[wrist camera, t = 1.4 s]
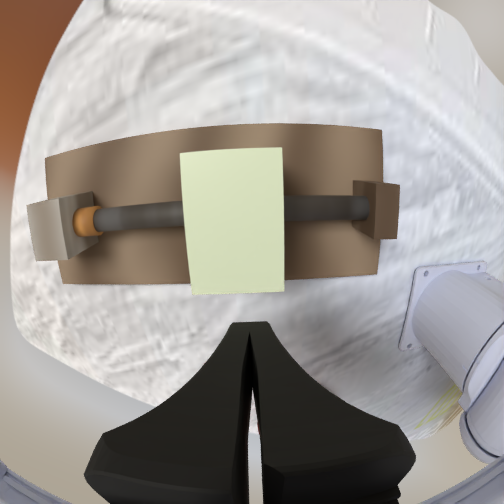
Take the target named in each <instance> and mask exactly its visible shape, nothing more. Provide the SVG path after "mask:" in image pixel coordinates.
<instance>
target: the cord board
mask: <svg viewBox="0 0 504 504" xmlns="http://www.w3.org/2000/svg"><path fill="white" fill-rule="evenodd" d="M276 147H282V159H283V195H284V280H295V279H313V278H330V277H345V276H360V275H373V274H377V270H378V260H379V250H380V239H397V231H398V216H399V195H400V185H397V184H390V183H384V182H383V145H382V130H378V129H370V128H360V127H350V126H337V125H320V124H284V123H275V124H238V125H221V126H208V127H198V128H188V129H179V130H171V131H164V132H157V133H151V134H144V135H139V136H133V137H127V138H122V139H117V140H112V141H108V142H103V143H99V144H94V145H90V146H86V147H82V148H78V149H75V150H71V151H67V152H64V153H60V154H57V155H53V156H50V157H47V158H45V170H46V185H47V196H48V200H45V201H41V202H37V203H33V204H29V205H27V213H28V220H29V227H30V233H31V239H32V244H33V249H34V254H35V259H36V261H52V260H58V264H59V269H60V273H61V277H62V281H63V284H187V283H191V281H190V273H189V264H188V255H187V246H186V236H185V225H184V213H183V200H182V186H181V169H180V153H186V152H197V151H209V150H223V149H241V148H276Z"/></svg>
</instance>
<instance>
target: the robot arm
mask: <svg viewBox="0 0 504 504" xmlns="http://www.w3.org/2000/svg"><path fill="white" fill-rule="evenodd" d="M486 270H487V263H486V262H485V261H477V262H468V263H457V264H447V265H436V266H425V267H418V268H417V269H416V271H415V274H414V280H413V286H412V291H411V297H410V302H409V306H408V311H407V315H406V320H405V324H404V328H403V332H402V336H401V340H400V344H399V349H400V350H401V351H405V350H410V349H414V348H419V347H423V346H425V348H426V349H427V350H428V351H429V352H430V353H431V355H432V356H433V357H434V358H435V359H436V361H437V362H438V363H439V364H440V365H441V367H442V368H443V369H444V370H445V372H446V373H447V374H448V375H449V376H450V378H451V379H452V380H453V382H454V383H455V384H456V385H457V387H458V388H459V389H460V390H461V392H462V393H463V394H462V396H461V398H460V399H459V400H458V403H459V404H460V406H461V407H462V408H463V410H464V412H463V413H462V415H461V417H460V422H459V426H460V432H461V437H462V440H463V442H464V445H465V446H466V448H467V449H468V451H469V452H470V453H471V454H472V455H473V456H474V457H475V458H476V459H478V460H480V461H481V462H484V463H487V464H489V465H487V466H486V467H484V468H483V469H481V470H480V471H478V472H477V473H476V474H474V475H472V476H470V477H469V478H467V479H466V480H464V481H462V482H460V483H459V484H457V485H455V486H453V487H451V488H450V489H448V490H446V491H444V492H442V493H440V494H438V495H436V496H434V497H432V498H430V499H428V500H425V501H423V502H421V503H419V504H504V283H503V282H501V281H500V280H498V279H496V278H495V277H493V276H491V275H489V274H488V273H486ZM425 271H426V273H425V275H424V272H425ZM408 344H409V345H408ZM252 388H253V393H254V400H255V407H256V414H257V420H258V427H259V433H260V442H261V463H262V485H263V504H399V502H398V500H397V499H398V498H399V497H400V496H401V493H400V490H399V488H398V484H399V483H400V481H401V480H402V479H403V478H404V477H405V476H406V474H407V473H408V472H409V471H410V470H411V468H412V466H413V465H414V463H415V461H416V455H415V453H414V451H413V448H412V446H411V444H410V443H409V441H408V439H407V437H406V436H405V434H404V433H403V432H402V430H401V429H400V427H399V426H398V425H396V424H394V423H391V422H388V421H385V420H383V419H380V418H378V417H375V416H373V415H370V414H368V413H366V412H364V411H362V410H360V409H358V408H356V407H354V406H352V405H350V404H348V403H346V402H345V401H343V400H342V399H340V398H339V397H337V396H335V395H334V394H332V393H331V392H329V391H328V390H327V389H325V388H324V387H323V386H321V385H320V384H319V383H318V382H317V381H315V380H314V379H313V378H312V377H311V376H310V375H309V374H307V373H306V372H305V371H304V370H303V369H302V368H301V367H300V365H299V364H298V363H297V362H296V361H295V360H294V359H293V358H292V357H291V355H290V354H289V353H288V352H287V350H286V349H285V348H284V347H283V345H282V344H281V342H280V341H279V340H278V338H277V337H276V335H275V333H274V332H273V330H272V328H271V326H270V324H269V323H268V322H267V321H263V322H236V323H232V324H231V325H230V327H229V329H228V331H227V333H226V334H225V336H224V338H223V339H222V341H221V343H220V344H219V345H218V347H217V348H216V350H215V351H214V353H213V354H212V355H211V357H210V358H209V359H208V360H207V362H206V363H205V364H204V365H203V366H202V368H201V369H200V370H199V371H198V372H197V373H196V374H195V375H194V376H193V377H192V378H191V379H190V380H189V381H188V382H187V383H186V384H185V385H184V386H183V387H182V388H181V389H179V390H178V391H177V392H176V393H175V394H173V395H172V396H171V397H170V398H168V399H167V400H166V401H164V402H163V403H162V404H160V405H159V406H157V407H155V408H154V409H152V410H151V411H149V412H147V413H146V414H144V415H142V416H140V417H138V418H137V419H135V420H133V421H131V422H128V423H126V424H124V425H122V426H119V427H117V428H115V429H113V430H110V431H108V432H105V433H103V434H102V436H101V438H100V440H99V441H98V443H97V445H96V447H95V449H94V451H93V454H92V456H91V458H90V461H89V463H88V466H87V468H86V470H85V473H84V477H85V479H86V481H87V483H88V484H89V485H90V486H91V487H92V488H93V489H94V490H95V491H96V492H97V493H98V494H99V495H101V496H102V497H103V498H104V499H105V500H106V501H108V502H109V503H110V504H249V476H248V432H249V422H250V411H251V400H252ZM0 504H72V503H70V502H68V501H65V500H63V499H61V498H59V497H57V496H55V495H53V494H51V493H49V492H47V491H45V490H43V489H41V488H40V487H38V486H36V485H34V484H33V483H31V482H29V481H27V480H26V479H24V478H22V477H21V476H19V475H17V474H16V473H14V472H13V471H11V470H10V469H8V468H7V466H6V465H5V464H4V463H3V462H2V461H1V460H0Z"/></svg>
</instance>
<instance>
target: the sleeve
mask: <svg viewBox="0 0 504 504" xmlns="http://www.w3.org/2000/svg"><path fill="white" fill-rule="evenodd" d="M180 169H181V186H182V200H183V213H184V225H185V236H186V246H187V255H188V264H189V273H190V281H191V289H192V295H198V294H236V293H262V292H283V291H284V195H283V159H282V147H276V148H241V149H223V150H209V151H197V152H186V153H180Z"/></svg>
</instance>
